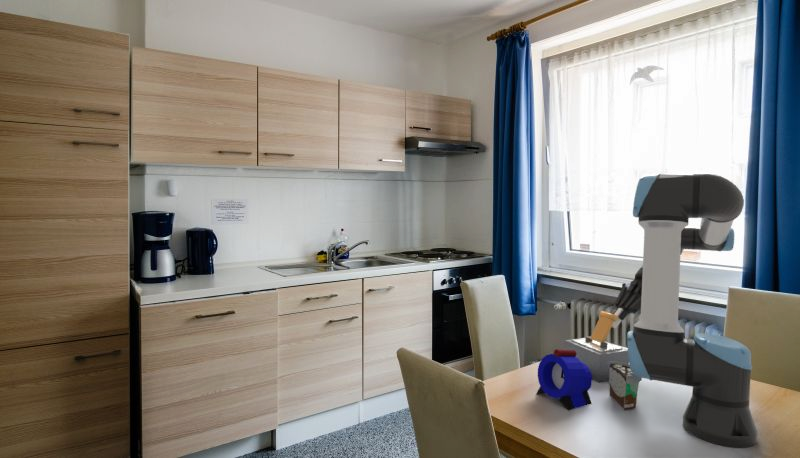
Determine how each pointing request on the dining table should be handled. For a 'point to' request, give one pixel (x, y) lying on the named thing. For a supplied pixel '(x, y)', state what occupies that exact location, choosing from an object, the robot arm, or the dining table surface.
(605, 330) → the lever
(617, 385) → the food container
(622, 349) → the box
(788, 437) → the dining table surface
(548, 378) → the alarm clock
